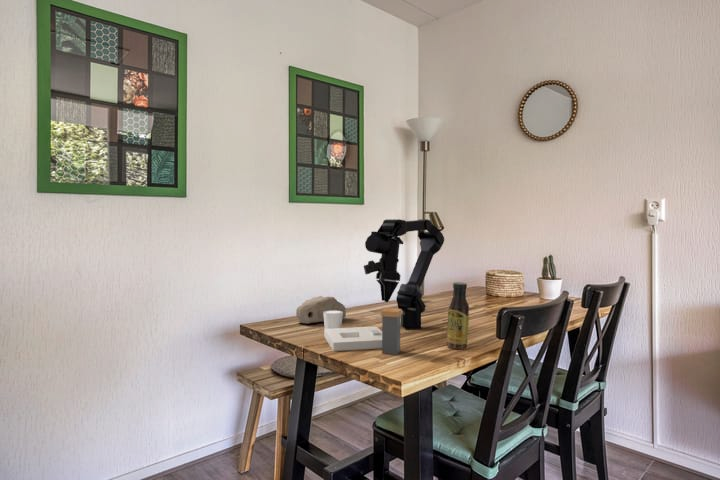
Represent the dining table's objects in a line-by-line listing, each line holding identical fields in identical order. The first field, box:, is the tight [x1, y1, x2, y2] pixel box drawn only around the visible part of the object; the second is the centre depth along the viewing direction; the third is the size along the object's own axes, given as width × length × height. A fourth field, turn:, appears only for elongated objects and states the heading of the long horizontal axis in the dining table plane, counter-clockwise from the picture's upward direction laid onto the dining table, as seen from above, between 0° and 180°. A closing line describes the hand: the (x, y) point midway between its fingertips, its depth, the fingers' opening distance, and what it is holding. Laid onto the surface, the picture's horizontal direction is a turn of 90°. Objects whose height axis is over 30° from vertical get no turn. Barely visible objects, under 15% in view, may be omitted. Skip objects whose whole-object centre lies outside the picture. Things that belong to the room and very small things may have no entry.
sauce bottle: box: [446, 281, 470, 350], centre depth 138 cm, size 7×6×20 cm
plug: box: [380, 307, 402, 356], centre depth 133 cm, size 5×5×12 cm
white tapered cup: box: [323, 310, 343, 329], centre depth 158 cm, size 7×7×7 cm
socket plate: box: [323, 326, 382, 352], centre depth 144 cm, size 18×18×3 cm
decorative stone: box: [295, 295, 347, 324], centre depth 173 cm, size 20×8×10 cm, turn 122°
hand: (384, 301), depth 152 cm, fingers open, 9 cm apart
